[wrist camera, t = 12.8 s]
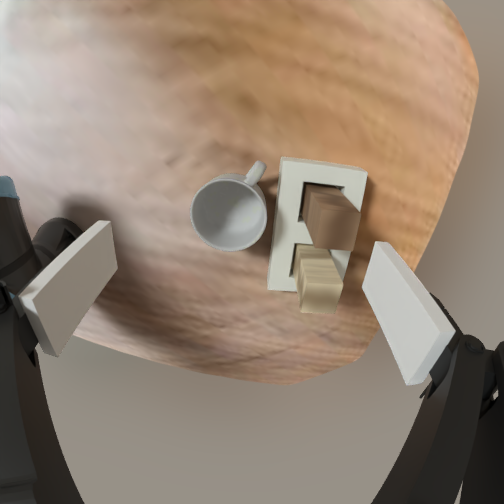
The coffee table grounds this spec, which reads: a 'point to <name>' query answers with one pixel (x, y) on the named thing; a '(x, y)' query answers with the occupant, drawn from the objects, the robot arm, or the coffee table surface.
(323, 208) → the walnut pin
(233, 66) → the coffee table surface
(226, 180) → the teacup
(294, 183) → the bore block
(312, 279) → the pin
